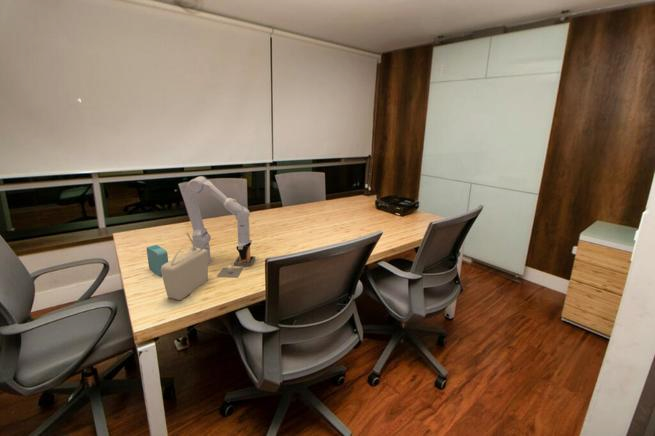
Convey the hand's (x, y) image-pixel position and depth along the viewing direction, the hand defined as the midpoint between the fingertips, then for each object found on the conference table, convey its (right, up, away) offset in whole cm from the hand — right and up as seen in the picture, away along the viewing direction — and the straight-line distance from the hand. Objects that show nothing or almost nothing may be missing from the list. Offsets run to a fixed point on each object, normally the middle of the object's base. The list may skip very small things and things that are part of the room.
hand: (244, 257), depth 165 cm
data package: (-38, -6, -10) cm, 40 cm away
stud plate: (-4, -7, -11) cm, 13 cm away
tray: (0, -3, +1) cm, 4 cm away
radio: (-18, -11, -26) cm, 33 cm away
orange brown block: (0, -2, +1) cm, 2 cm away
